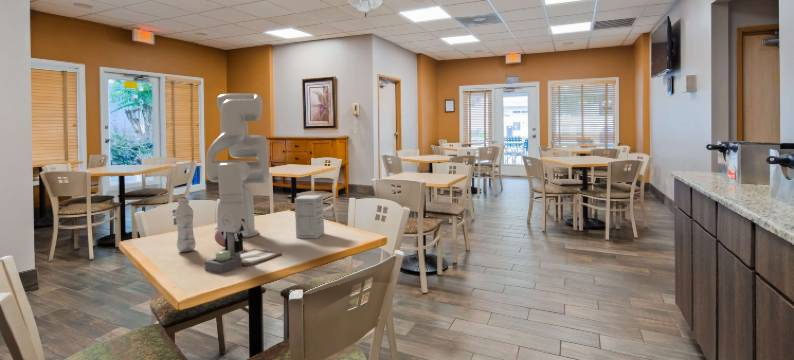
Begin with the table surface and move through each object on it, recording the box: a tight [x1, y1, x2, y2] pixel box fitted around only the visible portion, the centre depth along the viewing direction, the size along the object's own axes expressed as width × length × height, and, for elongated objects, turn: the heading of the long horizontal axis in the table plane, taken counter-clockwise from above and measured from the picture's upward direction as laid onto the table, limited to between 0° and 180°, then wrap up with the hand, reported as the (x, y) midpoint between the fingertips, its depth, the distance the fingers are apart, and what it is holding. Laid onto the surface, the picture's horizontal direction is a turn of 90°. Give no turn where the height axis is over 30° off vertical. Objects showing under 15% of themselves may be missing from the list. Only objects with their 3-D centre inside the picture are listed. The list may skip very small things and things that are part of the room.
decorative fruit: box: [214, 226, 240, 248], centre depth 174 cm, size 9×8×10 cm
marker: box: [227, 232, 241, 258], centre depth 158 cm, size 4×4×12 cm
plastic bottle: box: [174, 197, 197, 253], centre depth 170 cm, size 6×7×20 cm
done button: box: [215, 249, 230, 262], centre depth 149 cm, size 4×4×2 cm
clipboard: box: [240, 248, 283, 268], centre depth 161 cm, size 14×16×1 cm
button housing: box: [204, 256, 243, 275], centre depth 150 cm, size 8×8×3 cm
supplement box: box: [294, 194, 325, 239], centre depth 192 cm, size 10×9×17 cm
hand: (234, 250), depth 158 cm, fingers closed on marker, 4 cm apart
